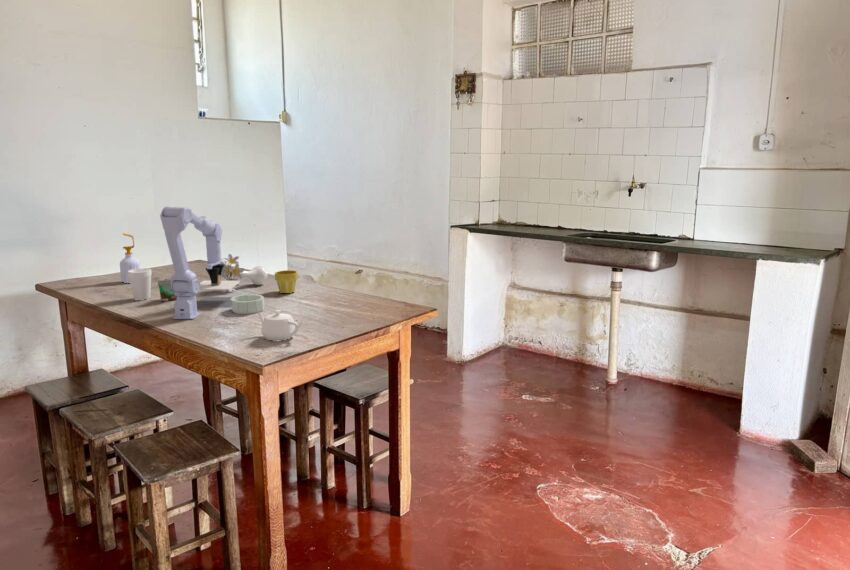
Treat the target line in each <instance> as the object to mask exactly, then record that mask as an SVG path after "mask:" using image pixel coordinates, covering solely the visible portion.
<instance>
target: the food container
mask: <svg viewBox="0 0 850 570" xmlns="http://www.w3.org/2000/svg"><path fill="white" fill-rule="evenodd" d="M157 286H158V288H159V295H160V300H161V301H160V302H161V303H166V302H167V303H168V302H175V301H176V300H177V295H175V293H174V292H173V291H172V289H171V279H170V278H165V279H163V280H157Z"/></svg>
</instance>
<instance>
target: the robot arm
mask: <svg viewBox="0 0 850 570" xmlns="http://www.w3.org/2000/svg"><path fill="white" fill-rule="evenodd" d="M159 216H160V220H161V225H162V228H163V230H164V237H165V239H166V243H167V246H168V250H169V255H170V257H171V258H170V259H171V261H172V266H173V269H174V273H173V274H172V275H171V277H170V278H169V279H171V289H172V291H173V292H174V293H175V295H177V300H175V301H174V304H173V305H174V317H173V320H194V319H195V318H197V317H198V316H199V315H200V314H201V313H202V312H201V311H198V307H197V302H198V301H197V294H198V293H199V292H200V290H199V289H200V283H201V282H200V281H199V279H198V277H197V274H196V273H195V272H194V271H192V270H190V267H189V263H188V258H187V254H186V250H185V246H184V243H183V239H182V236H181V233H182V232H183V231H185V230H186V229H187V226H188V225H189V224H193V226H194V228H195V229H196V230H198V231H199V232H201V233H202V235H203V237H205V247H206V258H207V259H206V260H207V261H206V266H205V272H207V273H208V276H209V278H210V281H211V282H212V283H217V281H218V275H220V276H221V273H222V269H223V267H224V265H223V264H221V263H224V262H225V261H224V260H223V258H222V252H221V250H222V249H221V240H222V235H223V229H222V226H221V225H220V224H218V223H214V222H213V221H212V220H209V219H208V218H207V217H206V216H204V215H202V216H198V215H196V214H195V213H194V212H193V210H192V209H191V208H189V207H187V206H185V207H181V206H180V207H179V206H171V207H170V206H164V207H163V208H162V210H161V213H160V215H159ZM221 277H222V276H221Z"/></svg>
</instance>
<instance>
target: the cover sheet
mask: <svg viewBox="0 0 850 570" xmlns="http://www.w3.org/2000/svg"><path fill="white" fill-rule="evenodd" d="M221 277H222V276H220V275H218V281H217V283H212V282H211V280H202V281H201V282H200V289H199V291H223V290H230V289H231V288H233V289H234V288H235V287H236V286H235V285H237V284H238V285H239V283H240V282H241V280H237V281H225V280H221V279H222V278H221Z"/></svg>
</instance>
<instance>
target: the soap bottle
mask: <svg viewBox="0 0 850 570" xmlns="http://www.w3.org/2000/svg"><path fill="white" fill-rule="evenodd" d="M122 235H123V236H127V237H130V238H132V239H131V240H132V246H131V245H130V246H123V247H122V249H124V250H125V251H126V252H125V253H124V255H125V256H124V258H123V259H121V261H120V262H119V269H120V281H121V283H122V282H124V283H123V284H125V283H130V280H129V277H128V271H129V270H133V269H141V263H140V262H141V261H140V260H139V259H137V257H133V256H134V255H133V252H132V249H133V248H135V242H134V240H135V239H134V236H133V235H132V234H129V233H125V232H124V233H122Z"/></svg>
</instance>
